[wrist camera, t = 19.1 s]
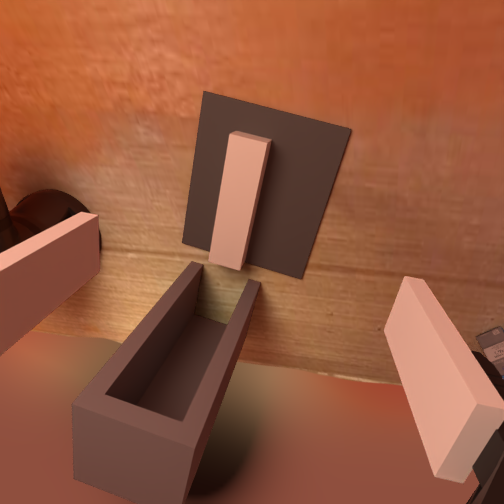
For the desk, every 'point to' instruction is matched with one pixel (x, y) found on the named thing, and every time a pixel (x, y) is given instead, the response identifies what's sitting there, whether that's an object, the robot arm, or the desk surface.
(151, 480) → the tall stand
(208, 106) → the mat
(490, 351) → the ink cartridge box
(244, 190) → the pale pink long block
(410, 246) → the desk surface
